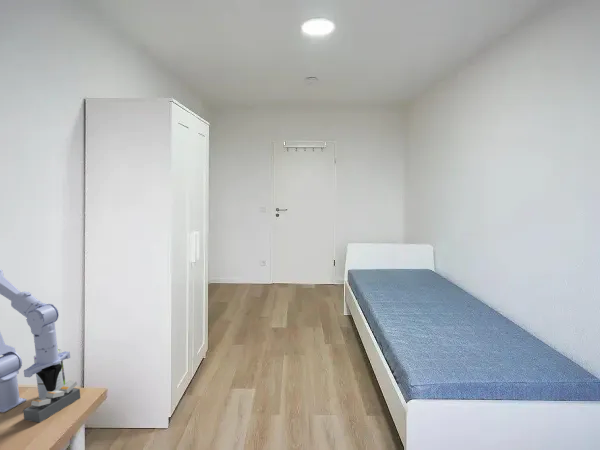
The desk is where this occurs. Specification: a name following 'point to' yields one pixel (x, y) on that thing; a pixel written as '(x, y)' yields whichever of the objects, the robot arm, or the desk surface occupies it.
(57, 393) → the block
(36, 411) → the rocker switch panel
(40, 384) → the syrup box
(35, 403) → the rocker
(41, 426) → the desk surface
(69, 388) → the rocker
